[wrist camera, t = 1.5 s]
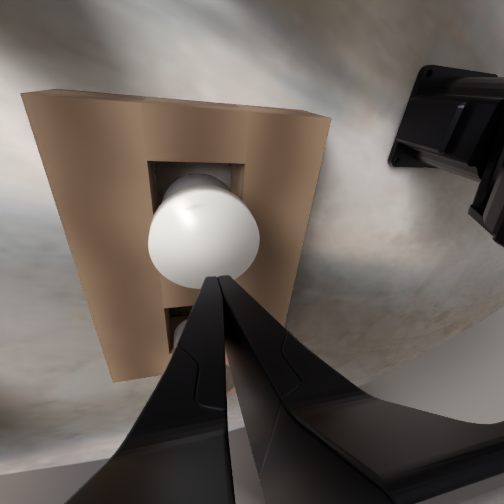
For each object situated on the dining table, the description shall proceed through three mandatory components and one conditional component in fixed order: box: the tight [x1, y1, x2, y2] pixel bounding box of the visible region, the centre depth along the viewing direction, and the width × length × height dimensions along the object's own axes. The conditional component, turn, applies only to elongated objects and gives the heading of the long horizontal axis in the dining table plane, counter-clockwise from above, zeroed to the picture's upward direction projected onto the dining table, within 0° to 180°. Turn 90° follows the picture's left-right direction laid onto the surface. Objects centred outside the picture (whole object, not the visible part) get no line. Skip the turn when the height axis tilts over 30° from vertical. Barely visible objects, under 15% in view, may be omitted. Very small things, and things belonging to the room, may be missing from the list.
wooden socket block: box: [20, 89, 331, 383], centre depth 19 cm, size 14×20×4 cm
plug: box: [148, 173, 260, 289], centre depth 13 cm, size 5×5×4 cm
